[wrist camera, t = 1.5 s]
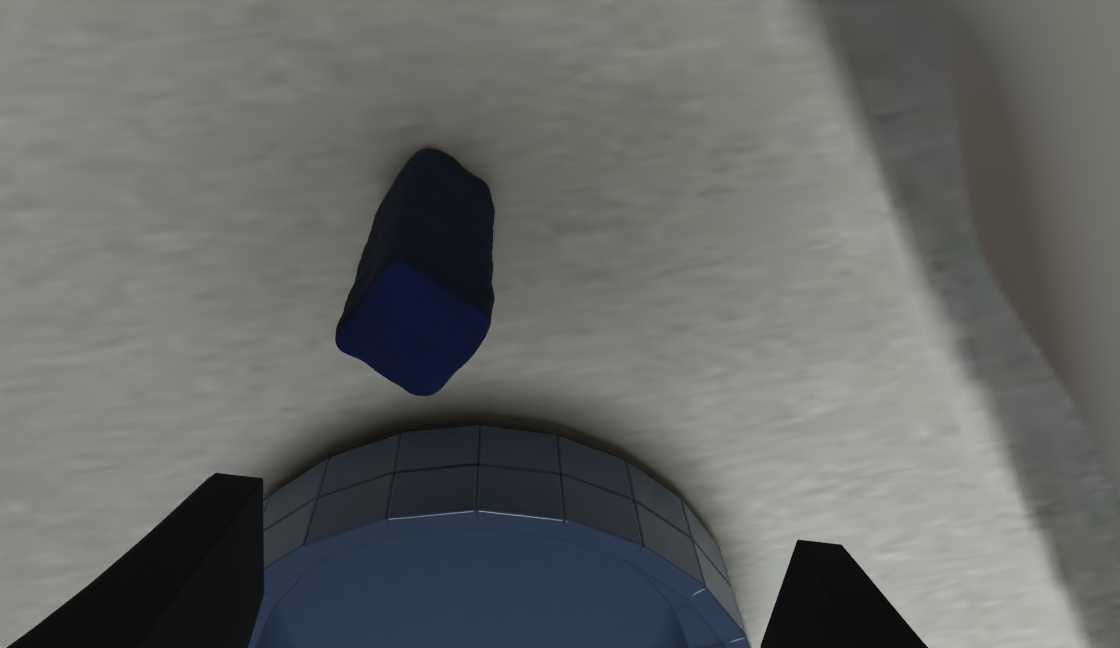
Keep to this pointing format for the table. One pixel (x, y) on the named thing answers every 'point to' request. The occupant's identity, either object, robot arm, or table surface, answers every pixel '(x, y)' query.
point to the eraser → (423, 277)
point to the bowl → (488, 551)
